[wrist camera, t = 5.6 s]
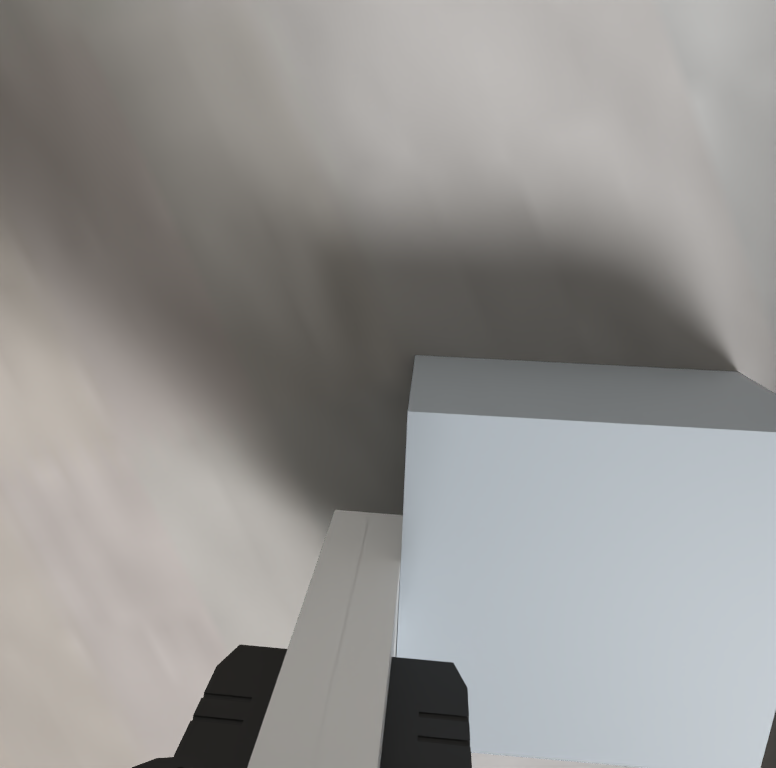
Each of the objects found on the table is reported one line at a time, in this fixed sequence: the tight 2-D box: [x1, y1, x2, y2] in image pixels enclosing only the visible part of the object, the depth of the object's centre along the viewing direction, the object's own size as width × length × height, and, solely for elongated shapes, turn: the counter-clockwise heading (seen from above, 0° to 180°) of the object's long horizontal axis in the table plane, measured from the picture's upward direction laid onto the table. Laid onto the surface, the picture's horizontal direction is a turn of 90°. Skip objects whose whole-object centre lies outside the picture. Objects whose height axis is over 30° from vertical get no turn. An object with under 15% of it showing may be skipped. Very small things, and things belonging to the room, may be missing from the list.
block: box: [396, 355, 776, 768], centre depth 13 cm, size 7×7×4 cm
